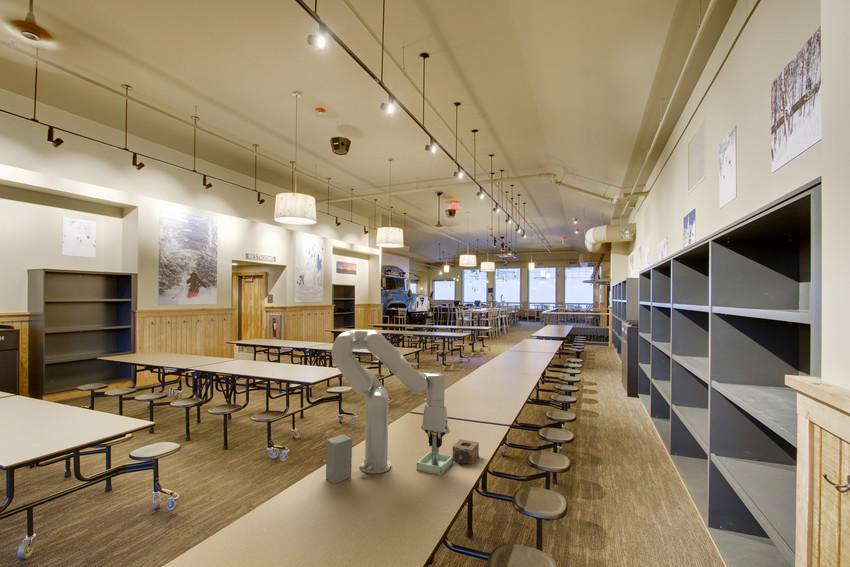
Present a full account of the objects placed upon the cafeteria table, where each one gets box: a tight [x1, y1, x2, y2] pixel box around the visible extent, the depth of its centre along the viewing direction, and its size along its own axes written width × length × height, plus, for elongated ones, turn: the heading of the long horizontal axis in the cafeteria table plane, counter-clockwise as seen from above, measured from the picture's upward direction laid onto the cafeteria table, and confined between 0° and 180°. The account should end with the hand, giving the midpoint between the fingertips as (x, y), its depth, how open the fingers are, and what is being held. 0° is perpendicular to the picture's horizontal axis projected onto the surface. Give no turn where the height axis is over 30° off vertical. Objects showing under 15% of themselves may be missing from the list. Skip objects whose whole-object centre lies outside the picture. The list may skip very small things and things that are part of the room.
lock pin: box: [431, 431, 440, 465], centre depth 164 cm, size 4×4×14 cm
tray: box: [416, 451, 454, 476], centre depth 163 cm, size 13×11×3 cm
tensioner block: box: [452, 439, 480, 465], centre depth 171 cm, size 13×9×6 cm
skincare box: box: [325, 433, 353, 485], centre depth 152 cm, size 8×7×16 cm
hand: (435, 445), depth 164 cm, fingers closed on lock pin, 2 cm apart
